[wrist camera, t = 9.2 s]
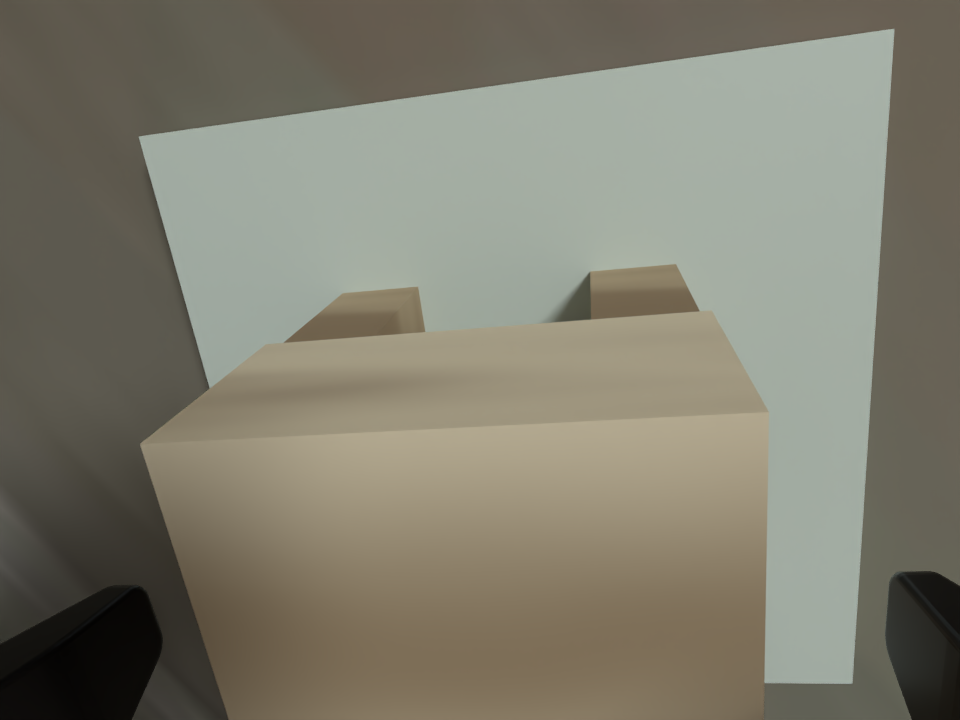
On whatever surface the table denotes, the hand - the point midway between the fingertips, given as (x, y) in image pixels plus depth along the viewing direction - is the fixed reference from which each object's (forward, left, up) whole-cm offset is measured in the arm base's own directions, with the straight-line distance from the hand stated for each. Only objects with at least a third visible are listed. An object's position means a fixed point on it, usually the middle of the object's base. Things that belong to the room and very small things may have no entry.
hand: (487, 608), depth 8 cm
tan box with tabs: (0, 0, -5) cm, 5 cm away
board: (0, 0, -6) cm, 6 cm away
